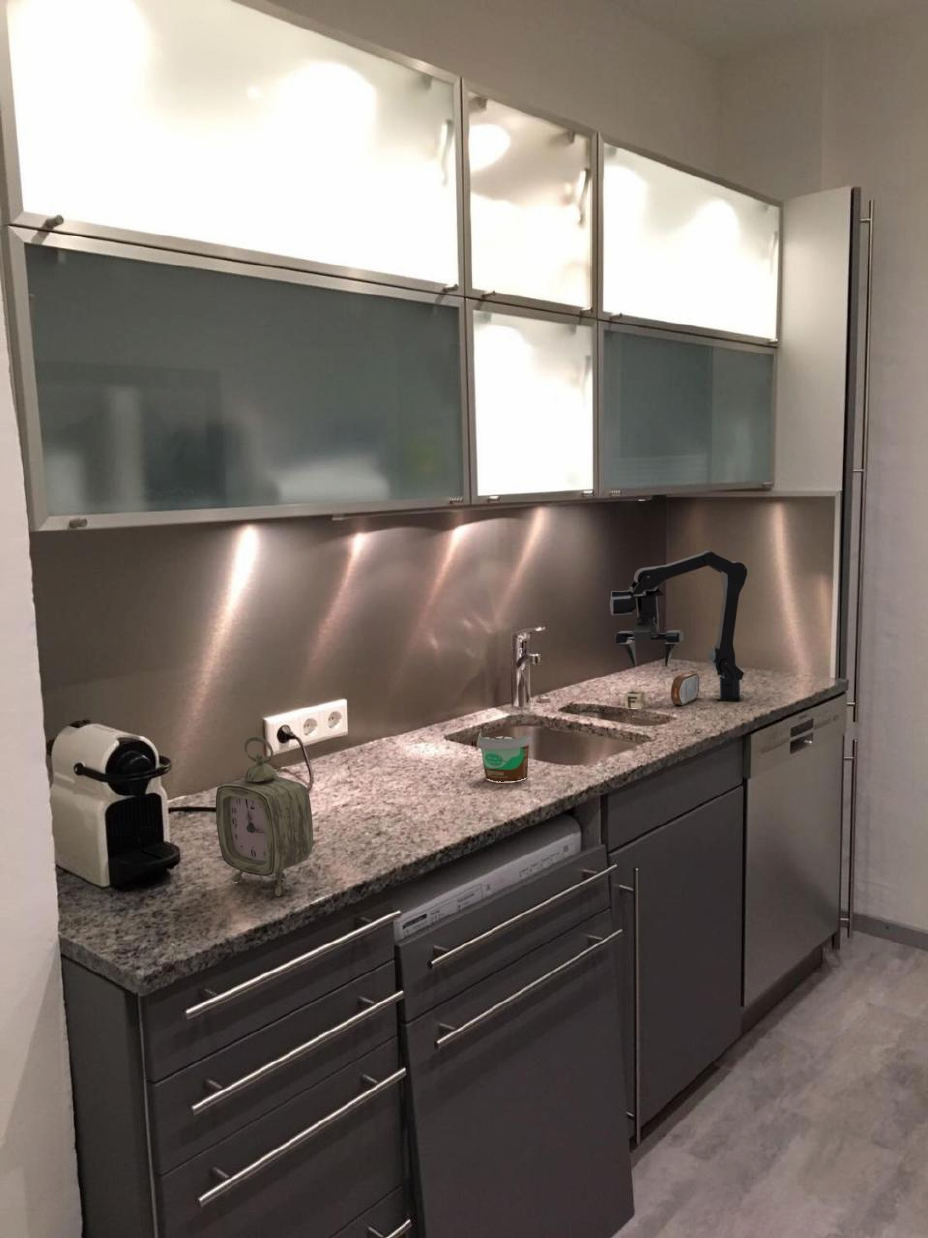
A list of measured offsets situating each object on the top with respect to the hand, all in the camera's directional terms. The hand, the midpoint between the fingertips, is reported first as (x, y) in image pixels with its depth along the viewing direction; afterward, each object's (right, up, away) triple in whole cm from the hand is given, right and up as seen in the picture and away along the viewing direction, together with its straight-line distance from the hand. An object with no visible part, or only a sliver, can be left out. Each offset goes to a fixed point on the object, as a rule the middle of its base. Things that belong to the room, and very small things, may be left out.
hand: (650, 666), depth 290 cm
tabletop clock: (-85, -31, -122) cm, 152 cm away
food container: (-45, -22, -69) cm, 86 cm away
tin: (+10, -11, 0) cm, 15 cm away
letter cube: (-5, -12, -3) cm, 13 cm away
